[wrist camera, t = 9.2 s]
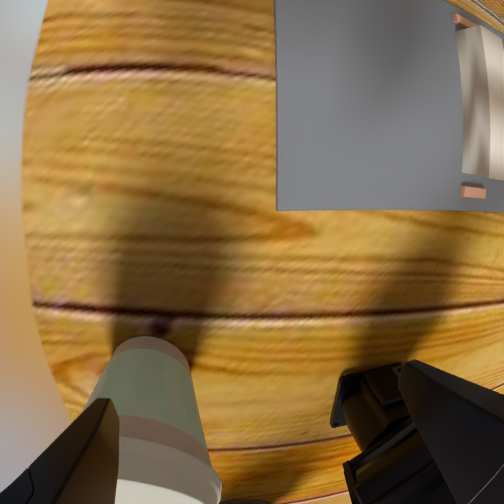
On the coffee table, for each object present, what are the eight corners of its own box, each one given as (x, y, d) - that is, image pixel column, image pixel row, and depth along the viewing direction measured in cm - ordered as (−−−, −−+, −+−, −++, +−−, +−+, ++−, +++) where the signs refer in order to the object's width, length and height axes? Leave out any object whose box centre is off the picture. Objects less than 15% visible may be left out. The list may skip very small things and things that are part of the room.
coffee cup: (97, 305, 19) (31, 445, 8) (220, 332, 21) (248, 486, 10) (94, 394, 21) (62, 520, 10) (196, 415, 23) (207, 545, 12)
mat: (527, 212, 23) (533, 214, 23) (275, 209, 19) (279, 212, 18) (524, 51, 18) (530, 51, 17) (272, -47, 13) (275, -54, 13)
